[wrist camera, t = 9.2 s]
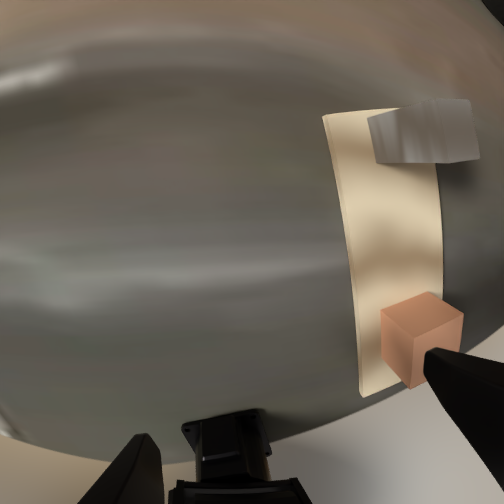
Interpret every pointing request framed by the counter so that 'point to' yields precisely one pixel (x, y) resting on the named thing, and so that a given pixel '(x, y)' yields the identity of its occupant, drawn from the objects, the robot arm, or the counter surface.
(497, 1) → the high-heeled shoe
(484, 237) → the counter surface
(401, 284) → the strip
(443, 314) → the block
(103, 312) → the counter surface
